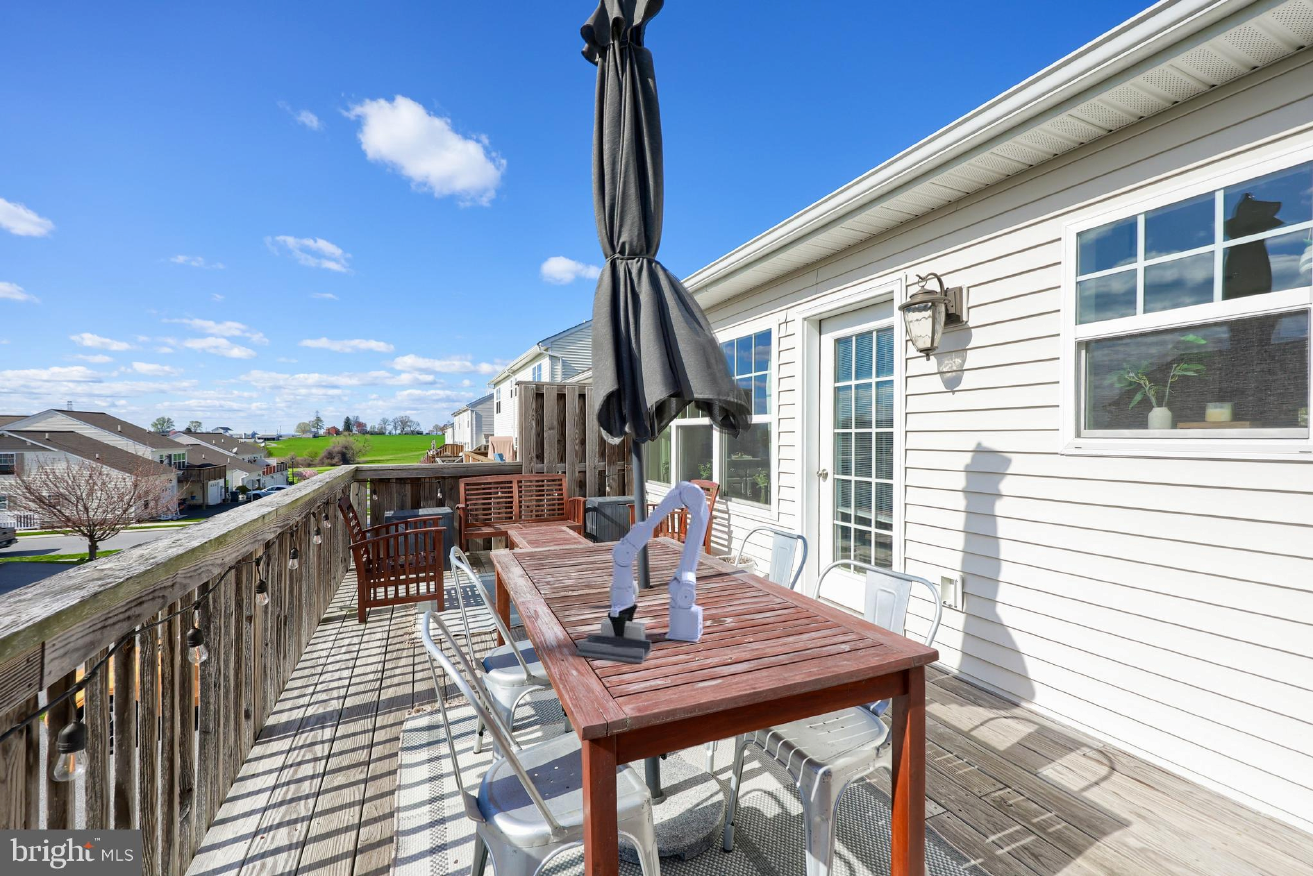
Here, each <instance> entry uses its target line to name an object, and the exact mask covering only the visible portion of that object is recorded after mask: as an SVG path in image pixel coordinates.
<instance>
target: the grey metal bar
mask: <svg viewBox="0 0 1313 876" xmlns="http://www.w3.org/2000/svg"><path fill="white" fill-rule="evenodd" d="M600 634H601V635H610V636H615V634H614V630H613V626H612V623H611V621H610V619H609V618H605V619H604V620H603V621H602V622H600ZM624 637H627V638H636V639H645V640H646V623H645V622H640V621H639V622H638V621H632V622H630V621H626V624H625V631H624Z"/></svg>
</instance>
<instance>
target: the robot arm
mask: <svg viewBox="0 0 1313 876" xmlns="http://www.w3.org/2000/svg"><path fill="white" fill-rule="evenodd" d="M706 496H707V495H706V493H705V492H704V490H703V489H702V488H701V486H699V485H698V484H696V483H691V482H690V481H686V480H683V481H679V482H678V483H677V484H676V485H675V486H674V487H673V488H671V489H670V490H669V491H668V493H667V494H666V496H664V497H663V499H662V500H661V501H660V502H659V503H658V504H657V506H656V507H655V509H653V511H652V512H651V513H650V514H649V516H648V517H647V518H646V519H645V520H644V521H638V522H637V523H632V525H631V529H630V530H629V532H627V534H626V535H625V536H624V537H620V539H619V542H617V543H615V545H614V546H613V547H612V550H611V553H610V554H611V557H612V558H613V563H612V564H613V565H612V566H613V567H612V568H613V569H612V583H613V600H611V599H610V600H609V601H608V605H611V608H610V610H609V612H607V619H610V621H611V623H612V626H613V630H614V634H615V636H619V637H624V631H625V624H626V621H630V622H634V618H635V617H634V616H635V614H636V611H637V609H638V607H639V606H638V604H637V603H635V602H636V601H635V595H633V580H634V568H633V564H634V563H633V562H635V560H636V554H637V553H639V552H640V551H641V550H642V549H643V548H644V547H645V545H646V544H647V543H648V542H649V541H650V540H651V539H652V537H653V536H654V529H655V528H656V527H657V526H658V525H659V524H660V523H661V522H662V521H663V520H664V519H665V518H666V517H667V516H668V515H669V514H670V513H671V512H672V511H674V510H677V509H682V508H685V509H686V510H687V512H688V513H689V514H690V515H689V516H690V520H689V524H688V527H687V531H686V535H685V540H684V544H683V547H682V552H681V555H680V556H681V557H680V560H679V563H678V567H677V569H676V570H675V572H674V574H673V578H672V579H671V580H670V581H669V583H668V585H667V592H668V595H669V596H670V597H671V598H670V600H669V602H668V603H669V604H668V607H669V609H668V611H669V613H668V615H669V616H668V617H669V618H668V619H669V620H668V624H669V625H668V630H669V631H668V632H667V633H666V634H665V636H664V639H668V640H676V641H677V640H678V641H685V642H686V641H687V642H695V643H698V642H699V639H701V636H703V633H704V630H703V625H704V624H703V623H704V622H703V619H704V618H703V617H704V616H703V615H704V614H703V607H702V606H700V605H697V604H696V603H695V602H696V600H697V591H696V587H697V579H696V573H697V568H698V565H699V562H700V561H699V559H700V556H701V552H702V548H703V544H704V540H705V537H706V533H707V528H708V525H709V520H710V515H711V513H710V509H709V506H708V503H707V499H706V498H707V497H706ZM634 601H635V602H634Z"/></svg>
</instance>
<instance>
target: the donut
mask: <svg viewBox="0 0 1313 876" xmlns="http://www.w3.org/2000/svg"><path fill="white" fill-rule="evenodd" d="M639 589H640V588H639V586H638V583H637V582H636V581H635V580H634V579H633V595H635V601H634V603H635V602H636V601H637V599H638V597H639V591H640V590H639ZM608 593H609V598H610V600H613V582H612V583H611V584H610V586H609V591H608Z"/></svg>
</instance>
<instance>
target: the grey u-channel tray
mask: <svg viewBox="0 0 1313 876" xmlns="http://www.w3.org/2000/svg"><path fill="white" fill-rule="evenodd" d="M652 651H653V646H652V640H651V639H646V638H645V639H636V638H627V637H619V636H610V635H601V633H600V634H599V633H592V632H591V633H590V632H588V633H587V641H578V642H577V650H576V656H579V657H585V658H586V657H587V658H595V659H602V660H610V661H616V662H617V661H618V662H624V663H633V664H634V663H635V664H641V665H643V663H644V661H645V660H647V659H646V658H647V657H648V656H649V655H650V654H651V652H652Z"/></svg>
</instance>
